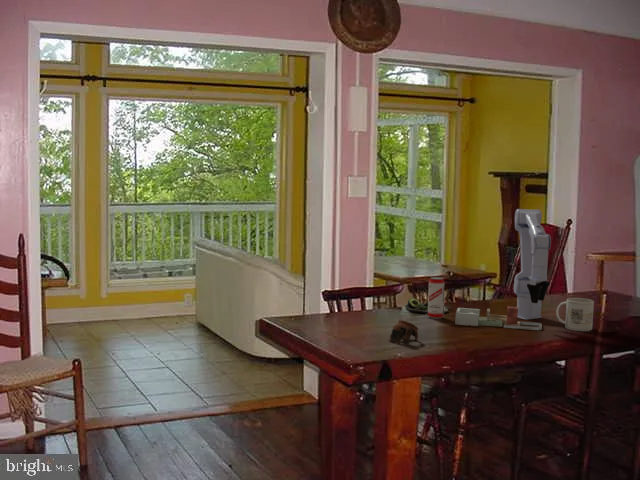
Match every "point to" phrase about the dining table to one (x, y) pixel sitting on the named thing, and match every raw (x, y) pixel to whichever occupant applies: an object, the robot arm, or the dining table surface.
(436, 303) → the beer can
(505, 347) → the dining table surface
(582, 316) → the mug
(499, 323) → the track
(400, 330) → the brown animal figurine
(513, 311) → the carriage
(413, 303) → the salad plate
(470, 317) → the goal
